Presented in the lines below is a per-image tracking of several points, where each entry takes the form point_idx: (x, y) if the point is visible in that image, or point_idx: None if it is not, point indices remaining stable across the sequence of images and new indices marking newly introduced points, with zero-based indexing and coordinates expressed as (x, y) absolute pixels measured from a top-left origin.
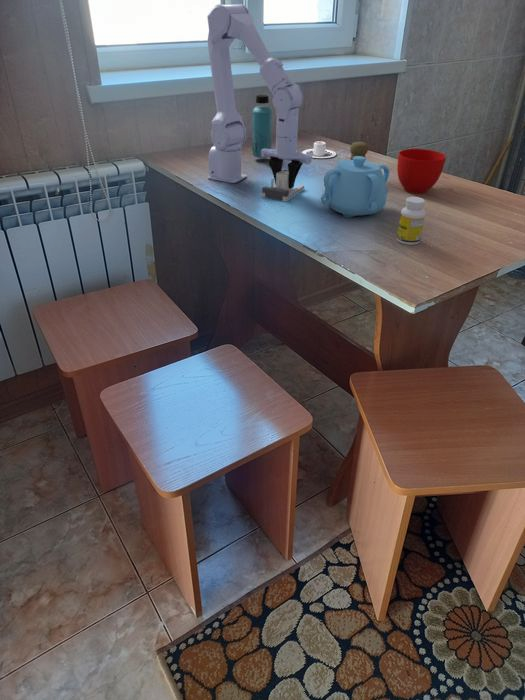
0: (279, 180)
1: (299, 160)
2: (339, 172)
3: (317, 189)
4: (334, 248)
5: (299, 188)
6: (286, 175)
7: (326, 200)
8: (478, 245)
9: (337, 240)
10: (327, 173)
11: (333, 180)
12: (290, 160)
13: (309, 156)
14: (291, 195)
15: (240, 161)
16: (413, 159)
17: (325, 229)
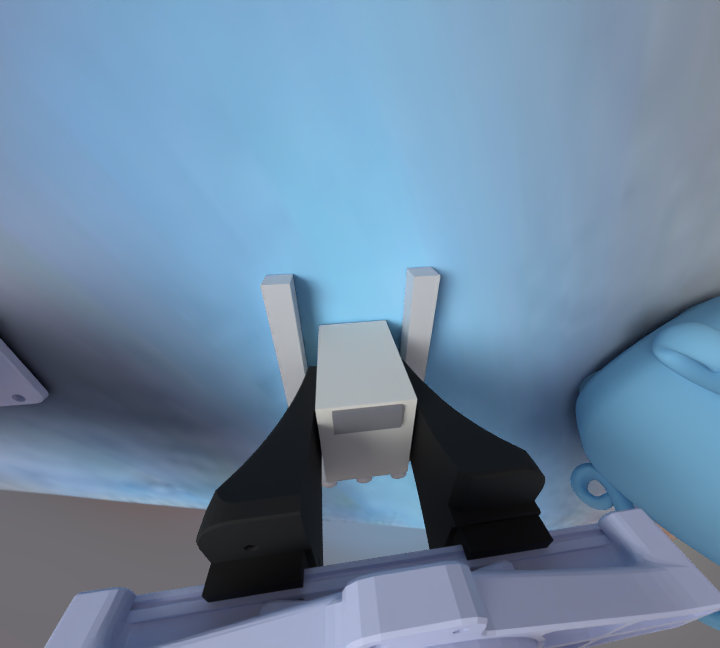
0: (371, 477)
1: (537, 562)
2: None
3: (507, 219)
4: (569, 523)
5: (430, 338)
6: (399, 470)
7: (591, 478)
8: None
9: (577, 507)
10: (706, 624)
11: (699, 551)
12: (440, 560)
13: (688, 621)
14: None
15: None
16: None
17: (554, 491)
